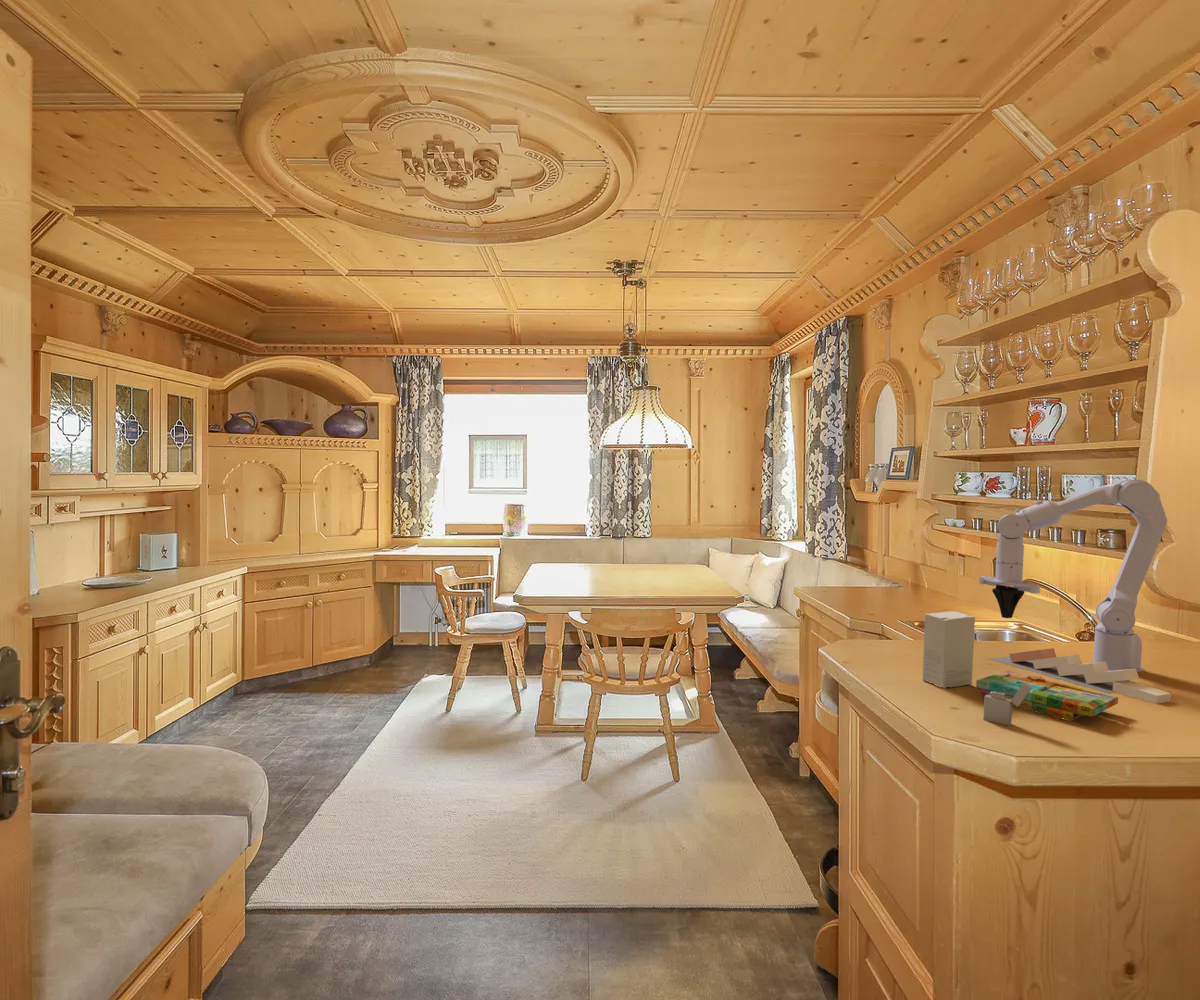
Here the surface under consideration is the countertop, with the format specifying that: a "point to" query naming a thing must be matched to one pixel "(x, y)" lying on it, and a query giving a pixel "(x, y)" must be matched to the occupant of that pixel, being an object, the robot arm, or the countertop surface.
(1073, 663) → the domino
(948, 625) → the skincare box
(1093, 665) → the domino
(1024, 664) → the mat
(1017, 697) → the lighter
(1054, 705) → the puzzle game
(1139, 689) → the domino
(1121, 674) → the domino
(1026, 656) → the domino
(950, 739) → the countertop surface
